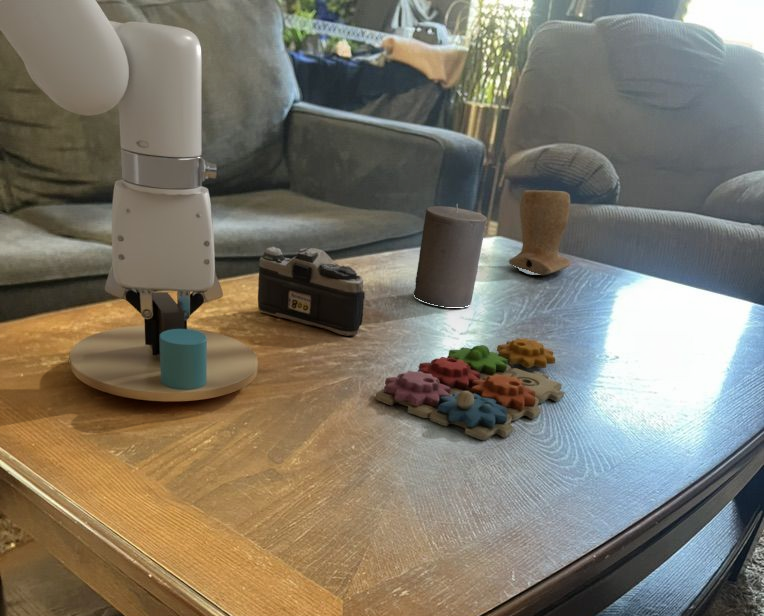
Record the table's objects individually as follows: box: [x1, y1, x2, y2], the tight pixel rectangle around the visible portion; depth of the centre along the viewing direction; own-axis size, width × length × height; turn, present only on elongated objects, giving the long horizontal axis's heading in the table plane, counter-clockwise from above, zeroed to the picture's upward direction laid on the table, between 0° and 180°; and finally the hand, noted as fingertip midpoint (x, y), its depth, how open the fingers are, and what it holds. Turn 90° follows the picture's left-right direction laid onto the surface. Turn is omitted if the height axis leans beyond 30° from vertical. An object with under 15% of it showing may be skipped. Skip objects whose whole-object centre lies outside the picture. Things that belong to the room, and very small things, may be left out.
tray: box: [68, 291, 259, 402], centre depth 84 cm, size 20×20×7 cm
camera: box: [257, 245, 366, 337], centre depth 109 cm, size 16×10×10 cm, turn 65°
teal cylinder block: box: [159, 329, 207, 390], centre depth 79 cm, size 5×5×5 cm
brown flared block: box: [508, 189, 572, 276], centre depth 150 cm, size 15×12×15 cm
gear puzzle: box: [375, 337, 565, 441], centre depth 96 cm, size 31×16×4 cm, turn 146°
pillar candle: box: [413, 203, 488, 307], centre depth 123 cm, size 10×10×15 cm
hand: (166, 350), depth 85 cm, fingers closed on tray
